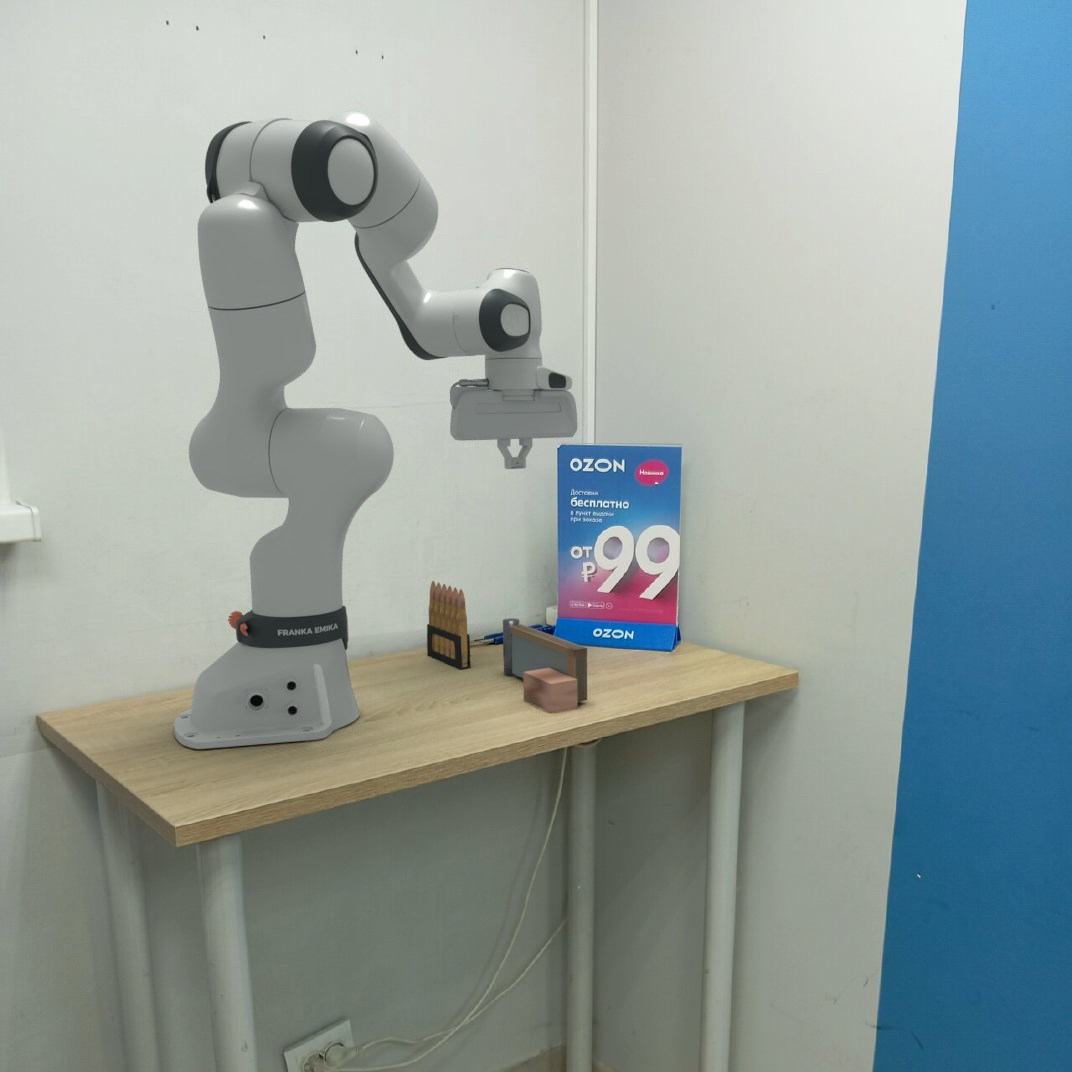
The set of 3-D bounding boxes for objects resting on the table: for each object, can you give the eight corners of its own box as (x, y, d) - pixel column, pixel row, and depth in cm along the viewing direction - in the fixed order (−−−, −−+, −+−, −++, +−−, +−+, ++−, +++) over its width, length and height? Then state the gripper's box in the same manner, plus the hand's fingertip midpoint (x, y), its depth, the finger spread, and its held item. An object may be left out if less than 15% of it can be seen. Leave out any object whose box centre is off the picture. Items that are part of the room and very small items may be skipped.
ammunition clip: (471, 668, 153) (469, 589, 152) (460, 670, 152) (458, 590, 151) (437, 653, 162) (435, 579, 160) (426, 655, 161) (425, 580, 159)
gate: (510, 673, 148) (510, 626, 147) (522, 671, 149) (522, 624, 148) (574, 702, 133) (574, 650, 132) (587, 700, 134) (587, 648, 133)
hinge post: (507, 676, 148) (506, 622, 147) (501, 672, 150) (500, 619, 149) (522, 674, 149) (521, 620, 148) (516, 670, 151) (515, 617, 150)
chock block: (523, 701, 137) (523, 671, 136) (549, 696, 139) (549, 667, 138) (551, 714, 131) (551, 683, 130) (577, 709, 133) (577, 679, 132)
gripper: (456, 378, 150) (458, 472, 152) (581, 377, 158) (582, 467, 160) (442, 379, 156) (445, 470, 158) (564, 378, 164) (564, 465, 166)
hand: (515, 468), depth 159 cm, fingers closed
